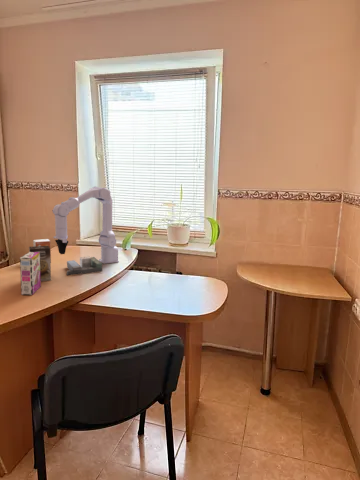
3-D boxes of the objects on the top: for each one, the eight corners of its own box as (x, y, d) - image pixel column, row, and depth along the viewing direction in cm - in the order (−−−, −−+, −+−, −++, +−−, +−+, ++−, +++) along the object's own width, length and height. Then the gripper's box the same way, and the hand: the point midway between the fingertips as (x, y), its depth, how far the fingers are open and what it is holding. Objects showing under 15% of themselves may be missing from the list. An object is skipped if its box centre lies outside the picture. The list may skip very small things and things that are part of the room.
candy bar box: (33, 295, 141) (31, 258, 137) (21, 295, 140) (18, 257, 137) (41, 286, 152) (40, 251, 148) (30, 286, 151) (28, 251, 148)
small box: (36, 264, 184) (35, 242, 181) (33, 262, 189) (32, 239, 186) (51, 263, 188) (50, 240, 186) (48, 260, 194) (48, 238, 191)
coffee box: (30, 282, 156) (29, 249, 153) (29, 278, 161) (28, 246, 158) (51, 280, 160) (50, 248, 157) (49, 276, 166) (48, 245, 162)
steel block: (89, 266, 185) (88, 256, 184) (91, 268, 182) (91, 258, 180) (80, 267, 182) (79, 257, 181) (82, 269, 179) (81, 259, 178)
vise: (94, 264, 189) (94, 256, 188) (102, 271, 178) (102, 263, 177) (61, 268, 180) (61, 260, 179) (67, 275, 168) (67, 266, 167)
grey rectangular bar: (74, 266, 184) (74, 260, 183) (81, 273, 172) (81, 266, 171) (67, 267, 182) (66, 261, 181) (73, 274, 170) (73, 267, 169)
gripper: (50, 226, 175) (51, 251, 178) (56, 230, 163) (57, 257, 166) (64, 225, 178) (64, 249, 181) (70, 230, 166) (71, 256, 169)
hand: (62, 253), depth 174 cm, fingers closed
